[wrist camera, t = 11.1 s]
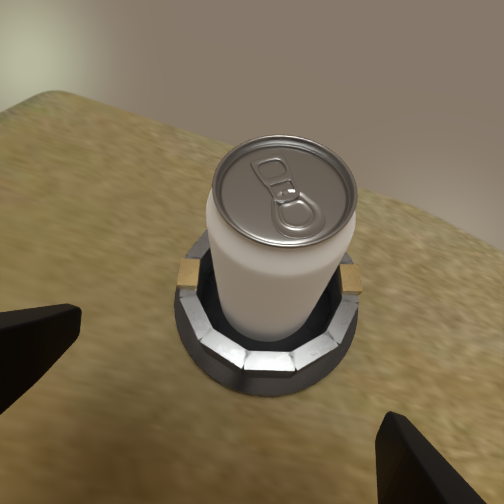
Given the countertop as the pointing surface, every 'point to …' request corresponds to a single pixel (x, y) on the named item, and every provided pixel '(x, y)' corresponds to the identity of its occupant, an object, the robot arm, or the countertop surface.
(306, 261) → the can
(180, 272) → the collar
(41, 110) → the countertop surface
